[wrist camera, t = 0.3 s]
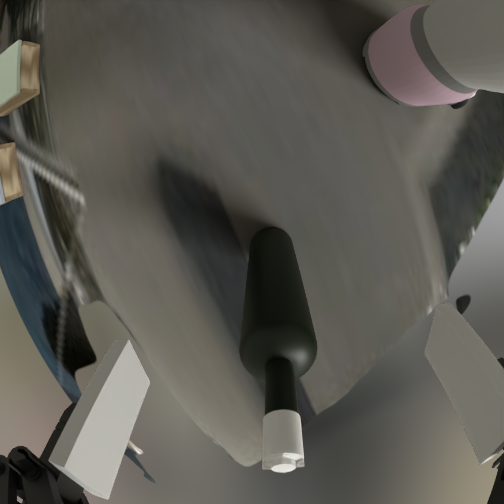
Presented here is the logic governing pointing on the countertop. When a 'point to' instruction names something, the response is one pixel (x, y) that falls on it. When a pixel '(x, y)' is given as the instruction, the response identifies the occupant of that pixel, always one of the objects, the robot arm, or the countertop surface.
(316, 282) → the countertop surface
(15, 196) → the box far
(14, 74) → the lid near
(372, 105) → the countertop surface
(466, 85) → the blender
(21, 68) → the box near
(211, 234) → the countertop surface
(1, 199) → the lid far
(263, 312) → the wine bottle
